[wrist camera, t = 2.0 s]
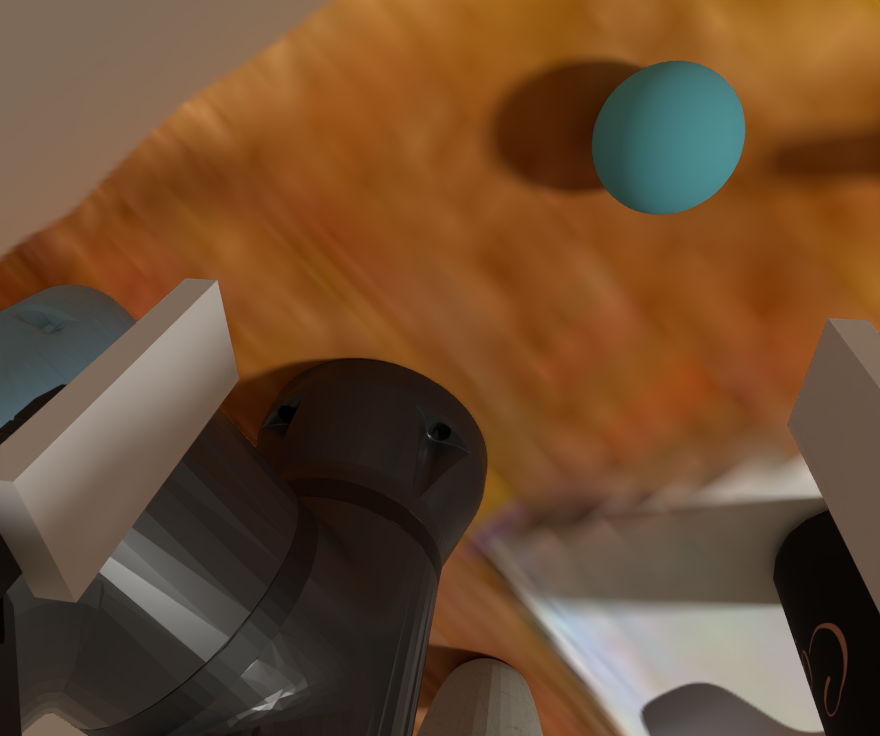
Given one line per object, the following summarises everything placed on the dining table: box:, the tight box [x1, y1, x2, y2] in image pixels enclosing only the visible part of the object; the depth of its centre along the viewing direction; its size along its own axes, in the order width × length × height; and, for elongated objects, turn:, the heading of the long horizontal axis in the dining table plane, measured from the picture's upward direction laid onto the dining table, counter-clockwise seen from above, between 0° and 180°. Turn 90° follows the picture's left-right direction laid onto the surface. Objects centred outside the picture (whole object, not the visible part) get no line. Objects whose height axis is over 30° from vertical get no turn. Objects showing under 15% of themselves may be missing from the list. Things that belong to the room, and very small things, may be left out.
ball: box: [592, 61, 745, 214], centre depth 26 cm, size 6×6×6 cm
